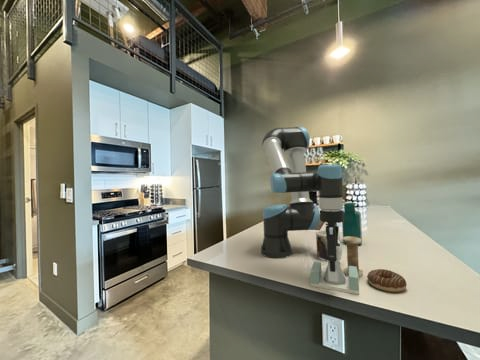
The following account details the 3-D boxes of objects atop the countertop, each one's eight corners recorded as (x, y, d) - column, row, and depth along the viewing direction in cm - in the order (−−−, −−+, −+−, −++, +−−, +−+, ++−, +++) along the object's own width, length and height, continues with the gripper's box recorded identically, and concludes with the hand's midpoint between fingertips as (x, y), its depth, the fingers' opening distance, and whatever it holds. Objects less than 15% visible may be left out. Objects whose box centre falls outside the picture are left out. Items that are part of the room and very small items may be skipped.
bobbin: (344, 275, 77) (342, 240, 77) (344, 269, 82) (342, 235, 82) (363, 278, 74) (361, 241, 74) (362, 271, 79) (360, 237, 79)
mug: (342, 254, 97) (341, 230, 97) (342, 264, 86) (341, 237, 86) (317, 252, 102) (316, 229, 102) (315, 261, 91) (314, 235, 91)
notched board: (311, 286, 70) (310, 271, 70) (314, 274, 78) (313, 261, 78) (359, 294, 64) (358, 278, 64) (357, 281, 72) (356, 266, 72)
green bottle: (345, 240, 119) (343, 201, 120) (362, 242, 114) (360, 201, 115) (342, 244, 111) (340, 203, 112) (360, 247, 106) (358, 203, 107)
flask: (342, 275, 75) (341, 247, 75) (349, 285, 68) (347, 254, 68) (321, 274, 76) (319, 247, 76) (325, 284, 69) (324, 254, 69)
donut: (416, 293, 64) (415, 279, 64) (383, 296, 63) (383, 282, 63) (388, 277, 75) (388, 265, 75) (360, 279, 74) (359, 268, 74)
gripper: (343, 216, 59) (347, 292, 59) (343, 205, 81) (346, 260, 81) (315, 215, 62) (318, 287, 62) (322, 205, 85) (325, 257, 85)
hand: (334, 272), depth 72 cm, fingers open, 13 cm apart
